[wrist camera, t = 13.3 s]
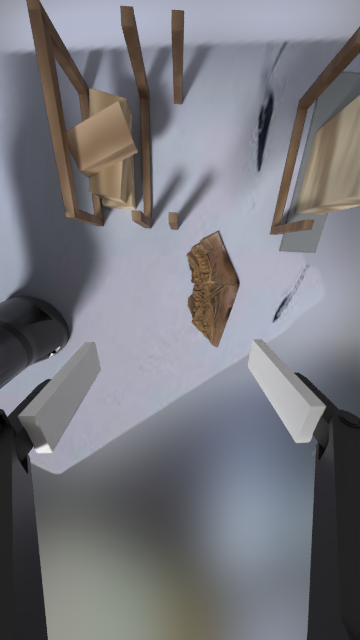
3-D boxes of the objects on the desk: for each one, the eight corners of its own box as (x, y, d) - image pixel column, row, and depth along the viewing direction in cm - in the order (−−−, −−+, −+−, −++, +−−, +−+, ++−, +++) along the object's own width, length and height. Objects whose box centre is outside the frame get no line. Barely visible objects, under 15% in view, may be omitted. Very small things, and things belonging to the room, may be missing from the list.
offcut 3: (109, 208, 32) (102, 204, 29) (100, 119, 27) (91, 104, 24) (136, 209, 32) (132, 206, 29) (132, 121, 27) (126, 106, 24)
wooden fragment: (186, 232, 33) (186, 232, 32) (243, 230, 33) (245, 229, 32) (189, 347, 43) (189, 349, 42) (232, 345, 43) (233, 347, 42)
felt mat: (279, 251, 34) (280, 251, 34) (323, 73, 25) (325, 70, 25) (313, 252, 34) (315, 252, 34) (370, 76, 25) (372, 74, 25)
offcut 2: (98, 196, 29) (89, 191, 26) (99, 106, 24) (89, 87, 22) (125, 203, 29) (120, 198, 26) (132, 115, 25) (126, 98, 22)
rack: (97, 225, 32) (66, 217, 23) (79, 85, 25) (26, -2, 16) (276, 234, 33) (311, 229, 24) (307, 101, 26) (373, 25, 17)
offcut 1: (72, 144, 24) (61, 133, 21) (124, 115, 23) (118, 100, 20) (88, 177, 25) (80, 171, 23) (137, 152, 24) (133, 142, 22)
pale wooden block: (295, 213, 31) (358, 194, 20) (315, 132, 27) (409, 52, 16) (321, 214, 31) (399, 196, 20) (346, 134, 27) (461, 56, 16)
